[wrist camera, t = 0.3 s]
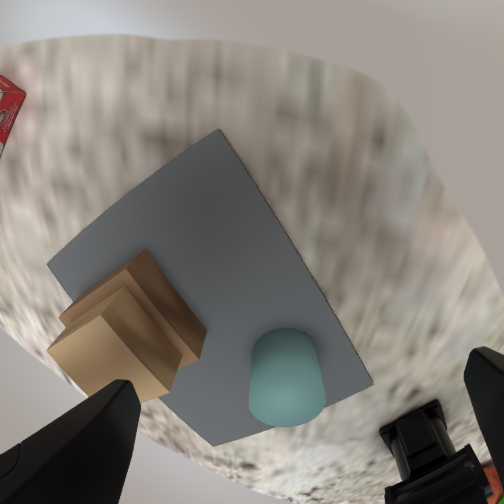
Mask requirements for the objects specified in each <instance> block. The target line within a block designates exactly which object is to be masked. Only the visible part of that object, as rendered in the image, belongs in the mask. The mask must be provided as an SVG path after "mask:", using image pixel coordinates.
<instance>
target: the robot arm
mask: <svg viewBox="0 0 504 504" xmlns="http://www.w3.org/2000/svg"><path fill="white" fill-rule="evenodd" d="M464 382H465V385H466V388H467V391H468V394H469V397H470V400H471V403H472V406H473V409H474V412H475V416H476V419H477V422H478V425H479V427H480V430H481V432H482V435H483V437H484V440H485V442H486V445H487V447H488V450H489V452H490V455H491V458H492V460H493V463H494V466H495V468H496V471H497V474H498V477H499V480H500V483H501V486H502V489H503V492H504V355H503V354H501V353H498V352H496V351H494V350H492V349H490V348H487V347H485V346H482V347H478V348H475V349H473V350H472V351H471V352H470V354H469V358H468V361H467V364H466V367H465V371H464ZM140 412H141V403H140V400H139V398H138V395H137V393H136V391H135V388H134V386H133V384H132V382H131V381H130V380H125V379H115V380H114V381H112V382H111V383H109V384H108V385H106V386H105V387H103V388H102V389H100V390H99V391H97V392H96V393H94V394H93V395H92V396H90V397H89V398H87V399H86V400H84V401H83V402H81V403H80V404H78V405H77V406H75V407H74V408H72V409H71V410H69V411H68V412H66V413H65V414H63V415H62V416H60V417H58V418H57V419H55V420H54V421H52V422H51V423H49V424H48V425H46V426H45V427H43V428H42V429H40V430H39V431H37V432H36V433H34V434H32V435H31V436H29V437H28V438H26V439H25V440H23V441H22V442H21V443H18V444H17V445H15V446H14V447H12V448H11V449H9V450H7V451H6V452H4V453H2V454H1V455H0V504H118V503H119V499H120V496H121V492H122V489H123V485H124V482H125V478H126V475H127V472H128V469H129V465H130V462H131V458H132V454H133V449H134V443H135V438H136V433H137V427H138V422H139V417H140ZM379 433H380V436H381V437H382V439H383V441H384V442H385V444H386V445H387V447H388V448H389V450H390V452H391V453H392V455H393V456H394V457H395V460H396V463H397V466H398V470H399V473H400V476H401V480H402V481H401V482H399V483H397V484H395V485H393V486H388V487H386V488H385V495H384V497H385V504H488V502H487V499H489V498H491V497H492V496H493V491H492V488H491V486H490V483H489V481H488V478H487V476H486V474H485V472H484V470H483V468H482V466H481V464H480V462H479V460H478V458H477V456H476V455H475V453H474V451H473V449H472V447H471V445H470V443H469V444H467V445H466V446H464V448H462V449H461V450H459V451H458V452H456V450H455V448H454V446H453V444H452V441H451V439H450V437H449V435H448V433H447V426H446V422H445V418H444V415H443V411H442V408H441V404H440V402H439V401H438V400H435V401H433V402H431V403H429V404H427V405H426V406H424V407H422V408H420V409H418V410H416V411H415V412H413V413H411V414H409V415H407V416H405V417H403V418H401V419H399V420H397V421H395V422H393V423H391V424H389V425H387V426H385V427H383V428H381V429H380V430H379Z"/></svg>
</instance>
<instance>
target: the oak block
mask: <svg viewBox="0 0 504 504" xmlns="http://www.w3.org/2000/svg"><path fill="white" fill-rule="evenodd" d="M46 351H47V352H48V353H49V354H50V355H51V357H52V358H53V359H54V360H55V361H56V362H57V364H58V365H59V366H60V367H61V368H62V369H63V370H64V371H65V372H66V374H67V375H68V376H69V377H70V378H71V379H72V380H73V381H74V382H75V383H76V384H77V385H78V386H79V387H80V388H81V389H82V390H83V391H84V392H85V393H86V394H87V395H88V396H89V397H90V396H92V395H93V394H94V393H96V392H97V391H99V390H100V389H102V388H103V387H105V386H106V385H108V384H109V383H111V382H112V381H114V380H115V379H125V380H130V381H131V382H132V384H133V386H134V388H135V391H136V393H137V395H138V398H139V400H140V403H143V402H145V401H148V400H151V399H154V398H156V397H159V396H162V395H164V394H167V393H170V390H171V387H172V385H173V382H174V379H175V376H176V373H177V370H178V367H179V364H180V361H181V358H182V355H181V354H180V352H179V351H178V350H177V349H176V348H175V347H174V346H173V344H172V343H171V342H170V341H169V340H168V339H167V337H166V336H165V335H164V334H163V333H162V332H161V330H160V329H159V328H158V327H157V326H156V324H155V323H154V322H153V321H152V319H151V318H150V317H149V316H148V315H147V313H146V312H145V311H144V310H143V308H142V307H141V306H140V305H139V303H138V302H137V301H136V299H135V298H134V297H133V296H132V294H131V293H130V292H129V290H128V289H127V288H126V287H125V286H123V287H122V288H120V289H119V290H117V291H116V292H114V293H113V294H111V295H110V296H109V297H107V298H106V299H104V300H103V301H101V302H100V303H98V304H97V305H95V306H94V307H92V308H91V309H89V310H88V311H87V312H85V313H84V314H82V315H81V316H79V317H78V318H76V319H75V320H74V321H72V322H71V323H70V324H69V325H68V326H67V327H66V328H65V330H64V331H63V332H62V333H61V334H60V335H59V336H58V338H57V339H56V340H55V341H54V342H53V343H52V344H51V346H50V347H49V348H48V349H47V350H46Z"/></svg>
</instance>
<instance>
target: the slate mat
mask: <svg viewBox="0 0 504 504" xmlns="http://www.w3.org/2000/svg"><path fill="white" fill-rule="evenodd" d="M144 249H146V250H147V252H148V253H149V255H150V256H151V257H152V259H153V260H154V261H155V263H156V264H157V266H158V267H159V268H160V270H161V271H162V272H163V274H164V275H165V276H166V278H167V279H168V280H169V282H170V283H171V284H172V286H173V287H174V288H175V290H176V291H177V292H178V294H179V295H180V296H181V298H182V299H183V300H184V301H185V303H186V304H187V305H188V307H189V308H190V309H191V310H192V312H193V313H194V314H195V315H196V317H197V318H198V319H199V321H200V322H201V323H202V324H203V326H204V327H205V328H206V329H207V334H206V337H205V341H204V345H203V348H202V352H201V355H200V359H199V360H198V361H196V362H193V363H191V364H189V365H187V366H184V367H182V368H180V369H178V370H177V373H176V376H175V379H174V382H173V385H172V387H171V390H170V393H167V394H164V395H162V396H159V397H158V398H159V399H160V400H161V401H162V402H163V403H164V404H165V405H166V406H168V407H169V408H170V409H171V410H172V411H173V412H174V413H175V414H176V415H177V416H178V417H179V418H180V419H182V420H183V421H184V422H185V423H186V424H187V425H188V426H189V427H190V428H192V429H193V430H194V431H195V432H196V433H197V434H199V435H200V436H201V437H202V438H203V439H204V440H206V441H207V442H208V443H209V444H210V445H212V446H213V447H214V446H217V445H221V444H224V443H228V442H231V441H235V440H238V439H241V438H244V437H247V436H250V435H254V434H257V433H260V432H262V431H265V430H268V429H271V428H274V427H276V426H271V425H268V424H265V423H263V422H261V421H260V420H258V419H257V418H256V417H254V415H253V414H252V413H251V411H250V408H249V391H250V375H251V359H252V349H253V346H254V344H255V342H256V341H257V340H258V339H259V338H260V337H261V336H262V335H263V334H265V333H267V332H269V331H271V330H274V329H279V328H293V329H297V330H300V331H302V332H304V333H306V334H307V335H308V336H309V337H310V338H311V339H312V340H313V342H314V344H315V347H316V352H317V356H318V361H319V366H320V371H321V376H322V381H323V386H324V391H325V396H326V403H325V406H324V408H325V407H327V406H329V405H332V404H334V403H336V402H338V401H341V400H343V399H345V398H347V397H349V396H351V395H354V394H356V393H358V392H360V391H362V390H364V389H366V388H368V387H370V386H372V385H374V384H373V381H372V380H371V378H370V376H369V374H368V372H367V371H366V369H365V367H364V365H363V363H362V362H361V360H360V358H359V356H358V354H357V353H356V351H355V349H354V347H353V346H352V344H351V342H350V340H349V339H348V337H347V335H346V333H345V332H344V330H343V328H342V326H341V325H340V323H339V321H338V319H337V318H336V316H335V314H334V313H333V311H332V309H331V307H330V306H329V304H328V302H327V301H326V299H325V297H324V295H323V294H322V292H321V290H320V289H319V287H318V285H317V284H316V282H315V280H314V279H313V277H312V275H311V274H310V272H309V270H308V269H307V267H306V265H305V264H304V262H303V260H302V259H301V257H300V255H299V254H298V252H297V250H296V249H295V247H294V245H293V244H292V242H291V241H290V239H289V237H288V236H287V234H286V232H285V231H284V229H283V228H282V226H281V224H280V223H279V221H278V220H277V218H276V216H275V215H274V213H273V212H272V210H271V208H270V207H269V205H268V204H267V202H266V200H265V199H264V197H263V196H262V194H261V193H260V191H259V189H258V188H257V186H256V185H255V183H254V182H253V180H252V178H251V177H250V175H249V174H248V172H247V171H246V169H245V168H244V166H243V164H242V163H241V161H240V160H239V158H238V157H237V155H236V154H235V152H234V151H233V149H232V148H231V146H230V144H229V143H228V141H227V140H226V138H225V137H224V135H223V134H222V132H221V131H220V129H217V130H216V131H214V132H213V133H211V134H210V135H208V136H207V137H205V138H204V139H202V140H201V141H199V142H198V143H196V144H195V145H193V146H192V147H190V148H189V149H187V150H186V151H184V152H183V153H182V154H180V155H179V156H177V157H176V158H175V159H173V160H172V161H170V162H169V163H168V164H166V165H165V166H163V167H162V168H161V169H159V170H158V171H157V172H155V173H154V174H153V175H151V176H150V177H149V178H147V179H146V180H145V181H143V182H142V183H141V184H139V185H138V186H137V187H135V188H134V189H133V190H132V191H130V192H129V193H128V194H126V195H125V196H124V197H123V198H121V199H120V200H119V201H118V202H116V203H115V204H114V205H113V206H112V207H110V208H109V209H108V210H107V211H105V212H104V213H103V214H102V215H101V216H99V217H98V218H97V219H96V220H95V221H93V222H92V223H91V224H90V225H89V226H88V227H86V228H85V229H84V230H83V231H82V232H81V233H80V234H78V235H77V236H76V237H75V238H74V239H73V240H72V241H71V242H69V243H68V244H67V245H66V246H65V247H64V248H63V249H62V250H61V251H60V252H59V253H57V254H56V255H55V256H54V257H53V258H52V259H51V260H50V261H49V262H48V263H47V266H48V267H49V269H50V270H51V272H52V273H53V275H54V276H55V277H56V279H57V280H58V282H59V283H60V284H61V286H62V287H63V288H64V290H65V291H66V293H67V294H68V295H69V297H70V298H71V299H72V301H73V302H74V301H75V300H76V299H77V298H78V297H79V296H80V295H81V294H83V293H84V292H86V291H87V290H88V289H90V288H91V287H92V286H94V285H95V284H96V283H98V282H99V281H100V280H102V279H103V278H105V277H106V276H107V275H109V274H110V273H111V272H113V271H114V270H116V269H117V268H118V267H120V266H121V265H123V264H124V263H125V262H127V261H128V260H130V259H131V258H133V257H134V256H135V255H137V254H138V253H140V252H141V251H143V250H144Z"/></svg>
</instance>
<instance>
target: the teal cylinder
mask: <svg viewBox="0 0 504 504" xmlns="http://www.w3.org/2000/svg"><path fill="white" fill-rule="evenodd" d="M325 403H326V396H325V391H324V386H323V381H322V376H321V371H320V366H319V361H318V356H317V352H316V347H315V344H314V342H313V340H312V339H311V338H310V337H309V336H308V335H307V334H306V333H304V332H302V331H300V330H297V329H293V328H279V329H274V330H271V331H269V332H267V333H265V334H263V335H262V336H261V337H260V338H259V339H258V340H257V341H256V342H255V344H254V346H253V349H252V359H251V375H250V391H249V408H250V411H251V413H252V414H253V415H254V417H256V418H257V419H258V420H260V421H261V422H263V423H265V424H268V425H271V426H276V427H292V426H297V425H301V424H304V423H306V422H309V421H310V420H312V419H314V418H315V417H316V416H318V415H319V414H320V412H321V411H322V410H323V408H324V406H325Z"/></svg>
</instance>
